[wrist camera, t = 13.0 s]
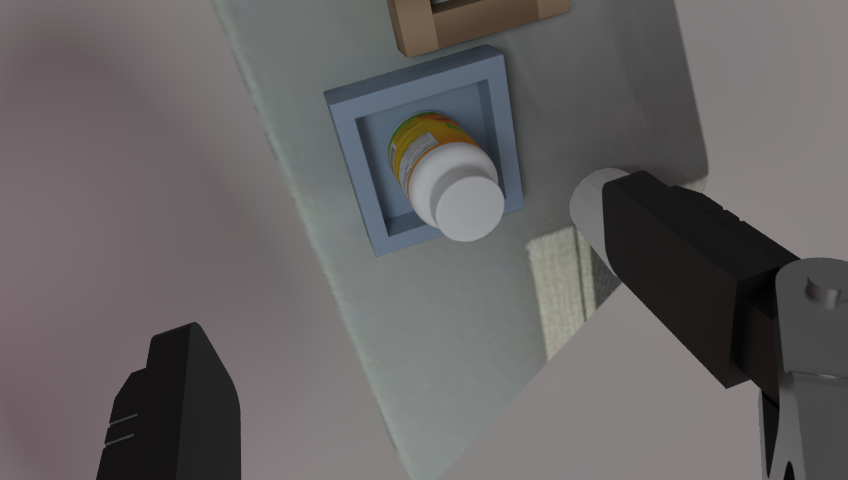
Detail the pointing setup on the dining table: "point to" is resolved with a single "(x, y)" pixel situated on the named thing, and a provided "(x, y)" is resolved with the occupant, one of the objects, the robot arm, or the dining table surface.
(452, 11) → the collar
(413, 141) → the supplement bottle
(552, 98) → the dining table surface
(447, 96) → the tray
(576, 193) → the shot glass
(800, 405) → the robot arm
